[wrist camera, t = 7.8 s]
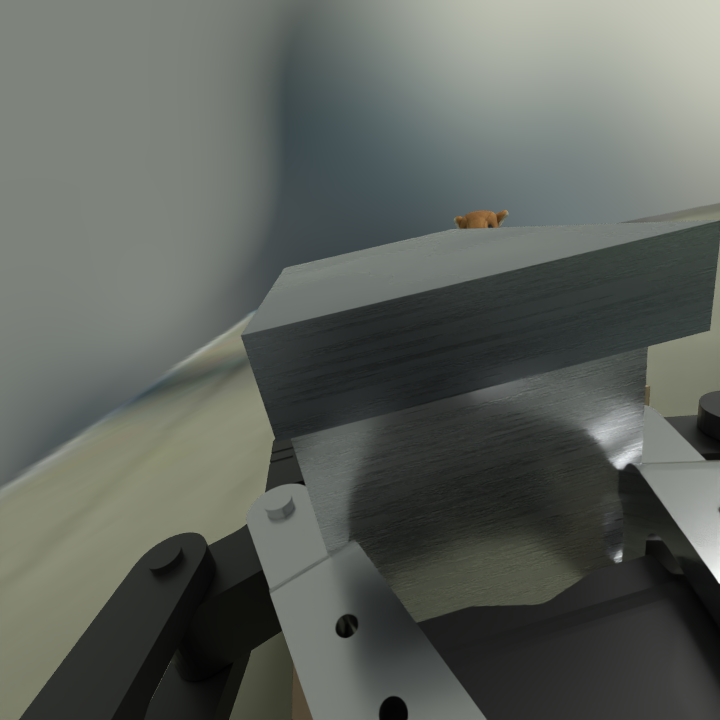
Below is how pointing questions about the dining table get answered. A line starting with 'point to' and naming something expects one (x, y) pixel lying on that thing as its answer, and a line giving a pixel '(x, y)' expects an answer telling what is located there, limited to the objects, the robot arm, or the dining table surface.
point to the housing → (478, 396)
